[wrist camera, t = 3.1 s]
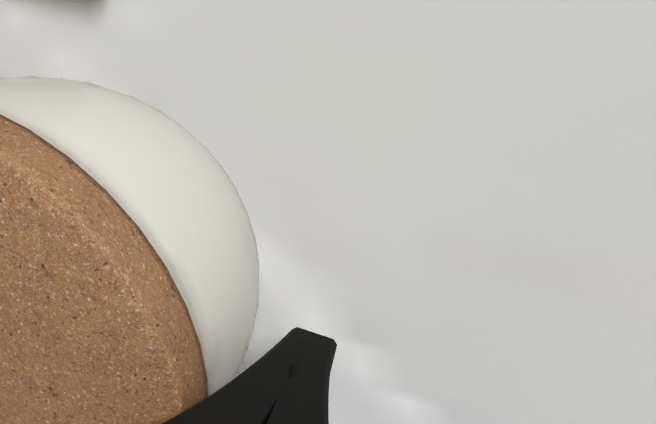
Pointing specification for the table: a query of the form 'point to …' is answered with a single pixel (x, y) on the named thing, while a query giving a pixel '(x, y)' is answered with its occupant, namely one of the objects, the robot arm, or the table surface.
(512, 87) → the table surface
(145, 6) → the table surface
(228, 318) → the lidded jar
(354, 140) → the table surface
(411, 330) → the table surface
